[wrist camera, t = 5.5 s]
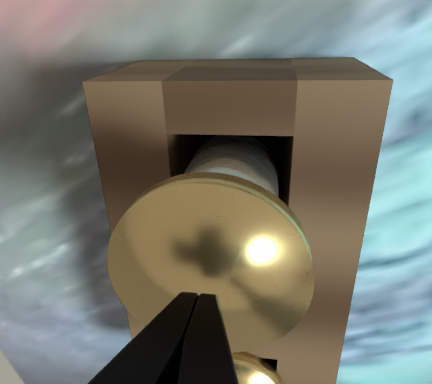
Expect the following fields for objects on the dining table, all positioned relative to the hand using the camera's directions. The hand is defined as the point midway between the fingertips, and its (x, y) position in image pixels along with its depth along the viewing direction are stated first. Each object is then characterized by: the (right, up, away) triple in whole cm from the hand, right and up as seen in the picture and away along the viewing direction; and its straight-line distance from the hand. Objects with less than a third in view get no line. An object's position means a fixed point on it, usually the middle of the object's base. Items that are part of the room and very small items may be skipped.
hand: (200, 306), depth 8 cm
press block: (+2, 0, +13) cm, 13 cm away
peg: (+1, +4, +7) cm, 8 cm away
